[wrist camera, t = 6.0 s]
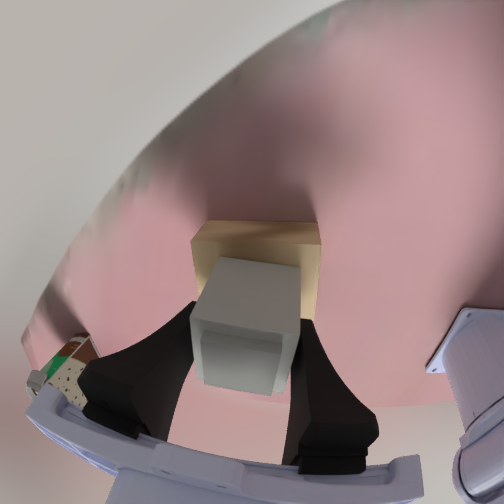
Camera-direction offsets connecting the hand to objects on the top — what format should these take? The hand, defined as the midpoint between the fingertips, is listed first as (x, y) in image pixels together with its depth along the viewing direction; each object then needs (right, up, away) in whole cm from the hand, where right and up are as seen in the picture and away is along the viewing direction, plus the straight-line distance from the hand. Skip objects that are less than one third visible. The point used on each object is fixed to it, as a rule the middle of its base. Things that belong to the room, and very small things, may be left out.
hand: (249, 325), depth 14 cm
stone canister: (0, +1, +2) cm, 2 cm away
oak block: (+1, +3, +5) cm, 6 cm away
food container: (-21, -9, +15) cm, 28 cm away
